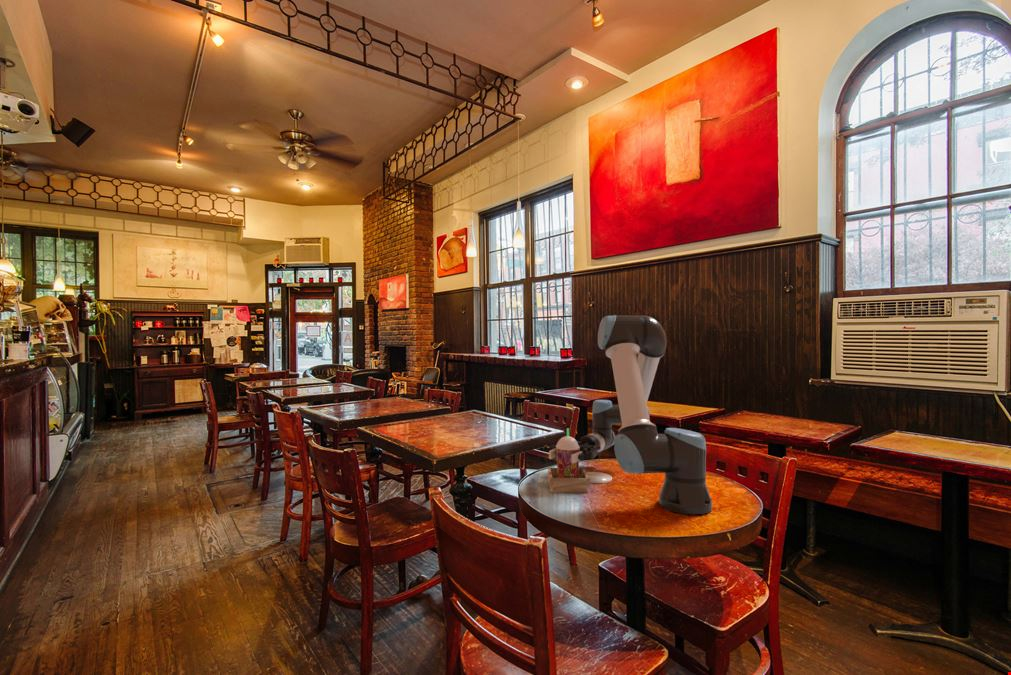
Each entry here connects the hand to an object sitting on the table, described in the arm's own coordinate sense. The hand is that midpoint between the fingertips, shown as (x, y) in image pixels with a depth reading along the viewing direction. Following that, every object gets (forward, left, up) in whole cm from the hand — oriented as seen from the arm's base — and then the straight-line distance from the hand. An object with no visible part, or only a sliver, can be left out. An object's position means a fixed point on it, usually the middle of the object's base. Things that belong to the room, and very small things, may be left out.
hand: (561, 457), depth 157 cm
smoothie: (+4, -3, -11) cm, 12 cm away
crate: (+4, -3, -11) cm, 12 cm away
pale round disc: (+13, -14, -11) cm, 22 cm away
